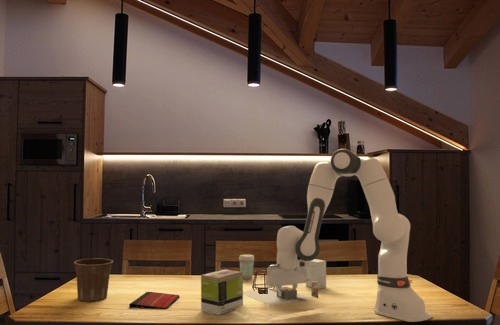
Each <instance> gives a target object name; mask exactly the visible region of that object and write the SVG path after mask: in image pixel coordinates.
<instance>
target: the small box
mask: <svg viewBox="0 0 500 325" xmlns="http://www.w3.org/2000/svg"><path fill="white" fill-rule="evenodd" d="M305 262H306V269H307V281H306V283H305V286H306V287H309V288H311V287H312V281H318V290H319V289H324V288H327V260H322V259H317V258H315V259H314V260H312V261H305Z"/></svg>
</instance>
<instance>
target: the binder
mask: <svg viewBox="0 0 500 325" xmlns="http://www.w3.org/2000/svg"><path fill="white" fill-rule="evenodd" d="M179 299H180V295H179V294H171V293H163V292H154V291H145V293H143V294H142V295H140V296H139V297H137V298H136V299H134V300H133V301H132V302H130V303H129V306H128V307H129V308H130V309H131V308H133V307H135V308H136V307H137V308H142V309H147V310H167V309H169V308H170V307H171V305H172V304H174V302H175V301H176V300H179Z"/></svg>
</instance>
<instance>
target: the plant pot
mask: <svg viewBox="0 0 500 325" xmlns="http://www.w3.org/2000/svg"><path fill="white" fill-rule="evenodd" d="M113 263H114V260H113V259H109V258H83V259H78V260H74V262H73V264H74V265H75V266H74V268H75V273H76V274H75V275H76V287H77V288H76V290H77V300H78V301H80V302H91V301H94V302H99V301H103V300H106V299H107V297H108V289H109V283H110V274H111V271H112V265H113Z"/></svg>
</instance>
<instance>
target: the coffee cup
mask: <svg viewBox="0 0 500 325" xmlns="http://www.w3.org/2000/svg"><path fill="white" fill-rule="evenodd" d="M238 261H239V262H238V263H239V272H243V279H244V280H251V279H253V272H254V265H255V256H254V254H250V253H249V254H246V253H245V254H240V255H239V257H238Z"/></svg>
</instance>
